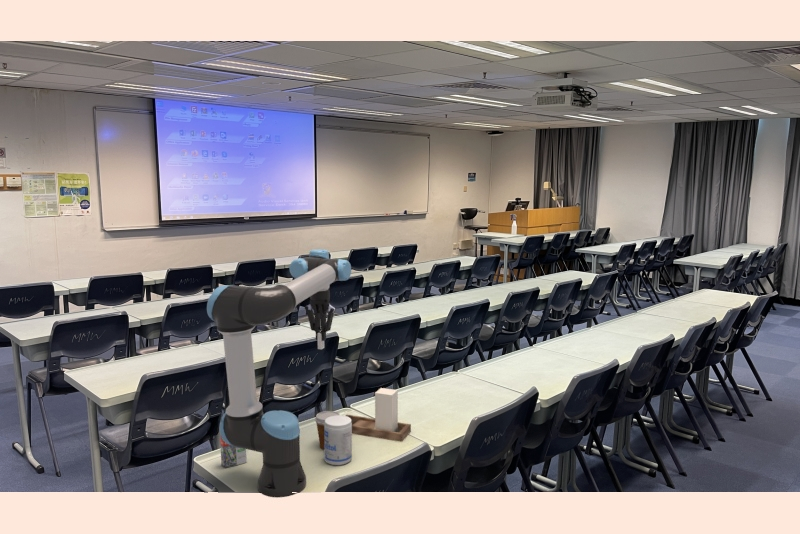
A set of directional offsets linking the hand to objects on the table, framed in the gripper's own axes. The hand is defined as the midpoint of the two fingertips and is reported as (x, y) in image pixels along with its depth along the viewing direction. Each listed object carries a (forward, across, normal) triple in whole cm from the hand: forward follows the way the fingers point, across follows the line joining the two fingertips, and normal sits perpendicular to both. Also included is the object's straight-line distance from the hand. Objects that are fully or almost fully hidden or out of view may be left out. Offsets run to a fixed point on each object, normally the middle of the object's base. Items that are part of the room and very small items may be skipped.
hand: (321, 348), depth 228 cm
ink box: (+33, +13, +39) cm, 52 cm away
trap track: (+32, -20, -4) cm, 39 cm away
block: (+30, -26, -3) cm, 40 cm away
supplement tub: (+33, -19, +23) cm, 44 cm away
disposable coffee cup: (+33, -11, +15) cm, 37 cm away
